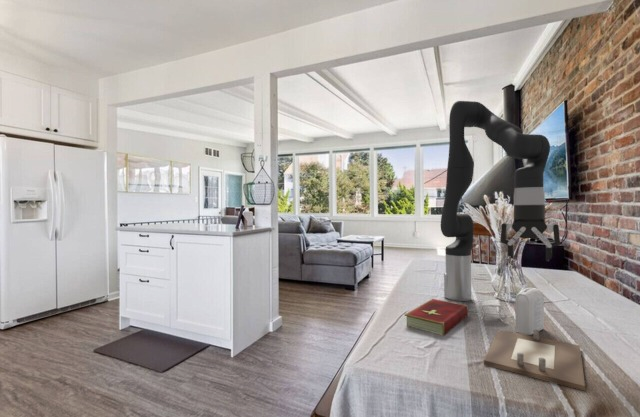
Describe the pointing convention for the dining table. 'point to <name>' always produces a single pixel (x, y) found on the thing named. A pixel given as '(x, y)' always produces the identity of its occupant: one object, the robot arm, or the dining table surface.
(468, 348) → the dining table surface
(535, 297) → the photo printer
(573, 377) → the walnut dock
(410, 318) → the hardcover book
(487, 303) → the white arched piece
